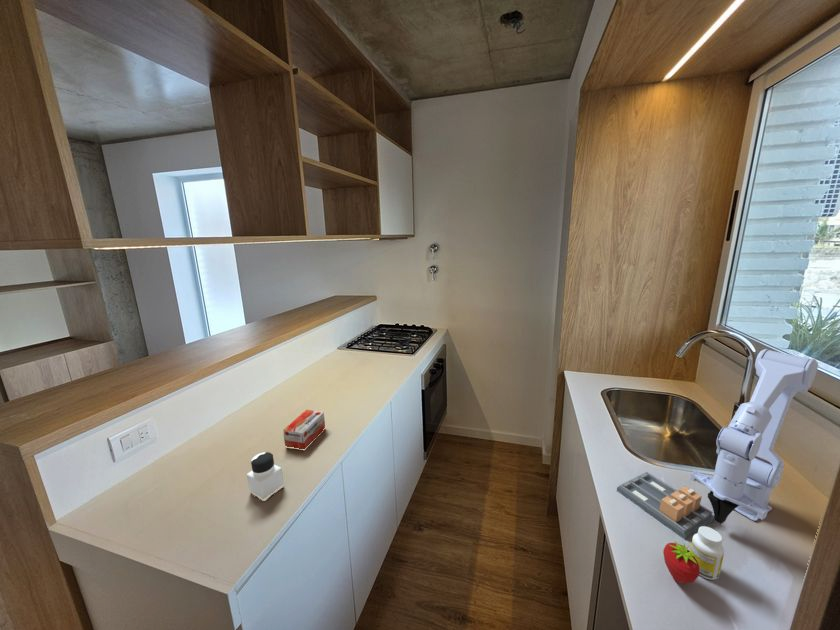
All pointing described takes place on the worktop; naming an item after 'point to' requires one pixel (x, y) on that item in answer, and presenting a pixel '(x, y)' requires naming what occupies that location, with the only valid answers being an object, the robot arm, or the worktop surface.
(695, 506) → the cardboard box
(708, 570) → the supplement bottle
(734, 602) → the worktop surface
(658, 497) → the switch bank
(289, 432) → the medicine box
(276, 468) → the medicine bottle
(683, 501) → the tan box with strip
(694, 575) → the strawberry
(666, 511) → the orange box
